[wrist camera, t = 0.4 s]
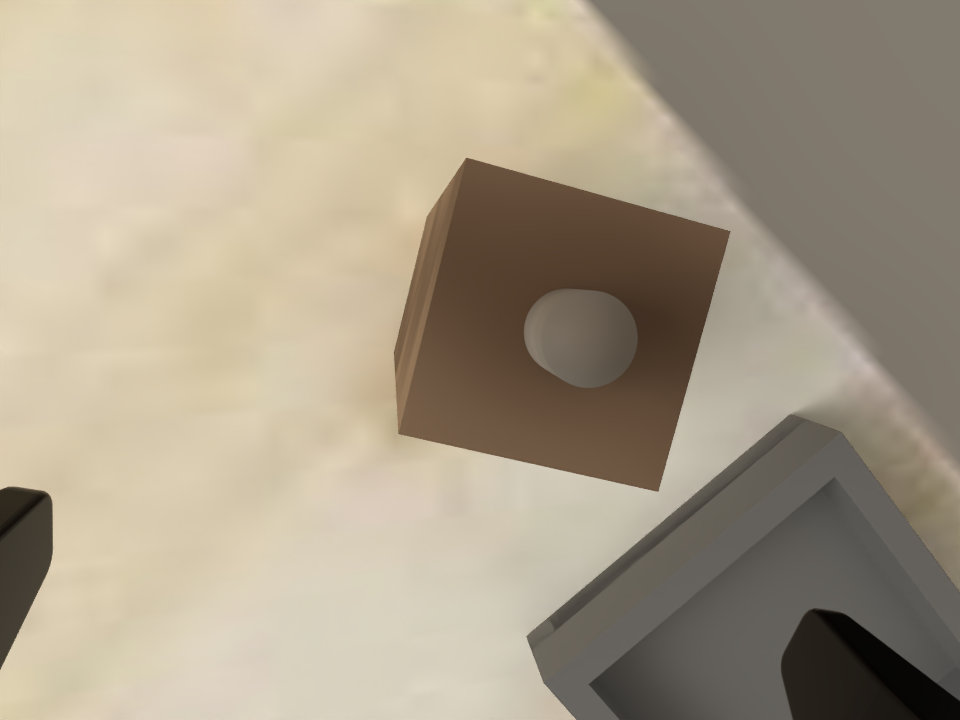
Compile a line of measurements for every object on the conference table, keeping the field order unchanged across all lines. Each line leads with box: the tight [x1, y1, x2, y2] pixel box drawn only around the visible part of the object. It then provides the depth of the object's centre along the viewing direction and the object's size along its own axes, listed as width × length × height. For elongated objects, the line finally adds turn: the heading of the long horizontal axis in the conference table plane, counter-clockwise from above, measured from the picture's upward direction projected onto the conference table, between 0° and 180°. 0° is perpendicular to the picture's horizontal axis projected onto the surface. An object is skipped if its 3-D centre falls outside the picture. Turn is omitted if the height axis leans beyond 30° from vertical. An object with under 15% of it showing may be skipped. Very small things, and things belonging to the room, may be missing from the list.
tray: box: [526, 414, 960, 720], centre depth 26 cm, size 12×12×3 cm
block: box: [394, 158, 730, 492], centre depth 18 cm, size 4×4×14 cm
